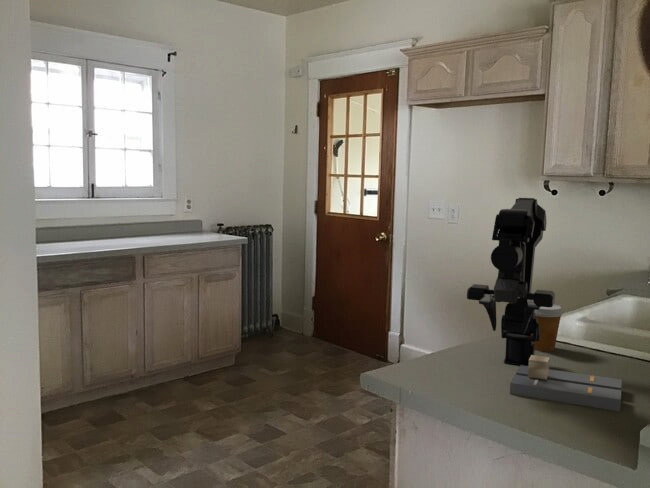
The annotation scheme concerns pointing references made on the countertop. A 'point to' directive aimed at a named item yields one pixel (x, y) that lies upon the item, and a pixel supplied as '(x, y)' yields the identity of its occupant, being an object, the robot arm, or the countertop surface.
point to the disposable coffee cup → (548, 327)
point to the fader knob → (538, 367)
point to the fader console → (569, 388)
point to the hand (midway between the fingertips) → (508, 332)
